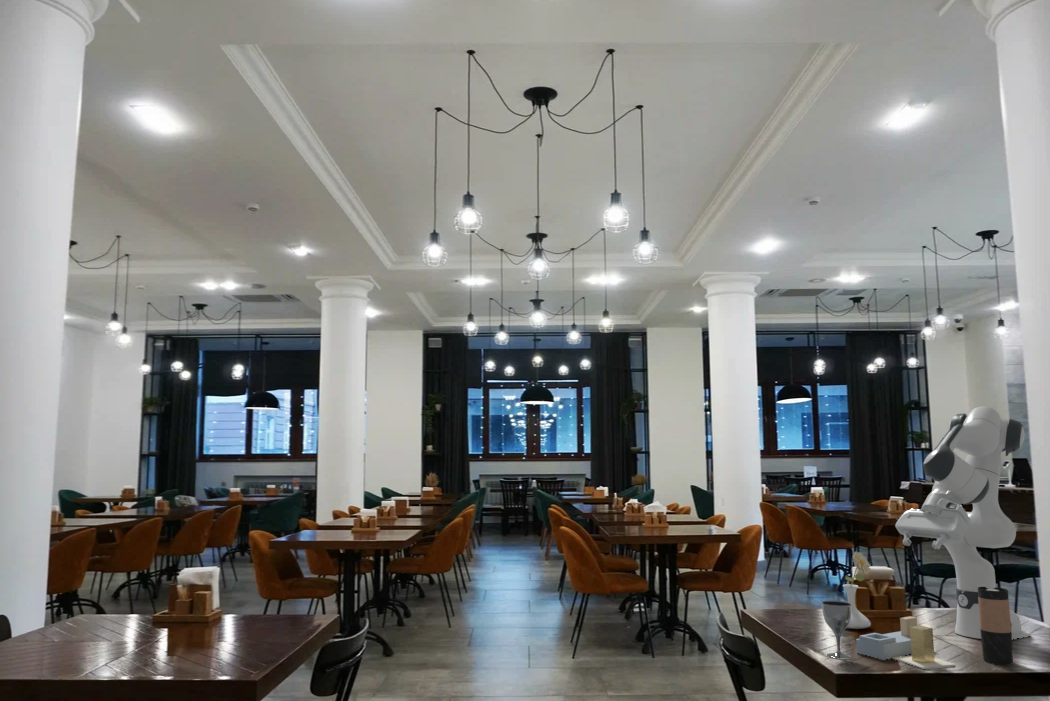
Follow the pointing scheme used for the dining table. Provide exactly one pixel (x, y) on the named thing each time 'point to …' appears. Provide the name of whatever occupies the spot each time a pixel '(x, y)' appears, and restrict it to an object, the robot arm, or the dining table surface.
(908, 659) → the felt mat
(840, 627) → the wine glass
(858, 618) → the flower in vase
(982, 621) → the travel mug
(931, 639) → the yellow rectangular block
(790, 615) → the dining table surface
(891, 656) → the grey stepped base plate
